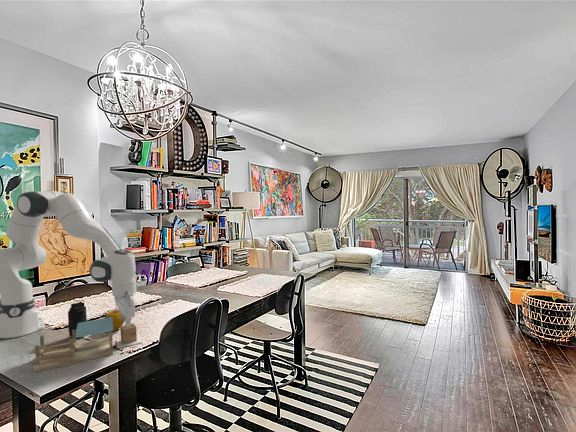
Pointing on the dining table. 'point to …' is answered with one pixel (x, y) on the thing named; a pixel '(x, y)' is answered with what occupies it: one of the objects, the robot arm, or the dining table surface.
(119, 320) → the apple
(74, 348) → the beige notched bar
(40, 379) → the dining table surface
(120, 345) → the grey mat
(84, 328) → the sliding lid
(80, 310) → the black bottle
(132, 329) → the walnut block
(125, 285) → the robot arm
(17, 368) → the dining table surface
